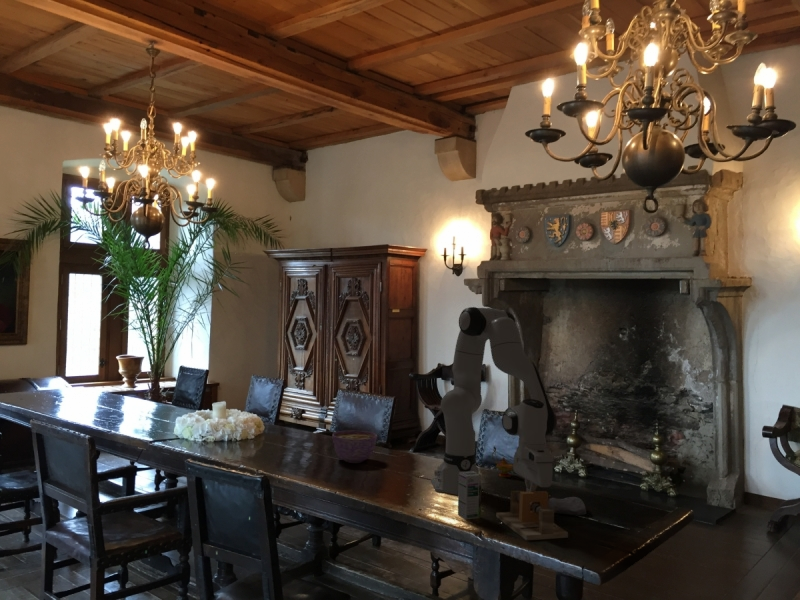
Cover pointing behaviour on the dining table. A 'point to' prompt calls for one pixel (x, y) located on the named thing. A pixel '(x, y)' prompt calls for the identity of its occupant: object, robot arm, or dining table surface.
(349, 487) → the dining table surface
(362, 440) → the bowl of food
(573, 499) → the stone block
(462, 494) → the syrup box
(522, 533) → the pipe stand
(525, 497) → the collar
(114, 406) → the dining table surface
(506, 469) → the magic lamp
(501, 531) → the dining table surface
